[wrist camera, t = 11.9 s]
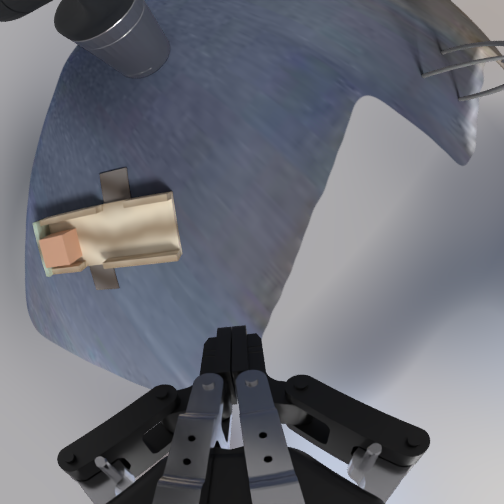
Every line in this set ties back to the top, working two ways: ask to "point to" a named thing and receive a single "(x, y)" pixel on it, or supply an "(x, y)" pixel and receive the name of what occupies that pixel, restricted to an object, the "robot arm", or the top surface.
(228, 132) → the top surface
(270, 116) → the top surface
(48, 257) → the block
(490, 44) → the citrus juicer
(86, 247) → the box
